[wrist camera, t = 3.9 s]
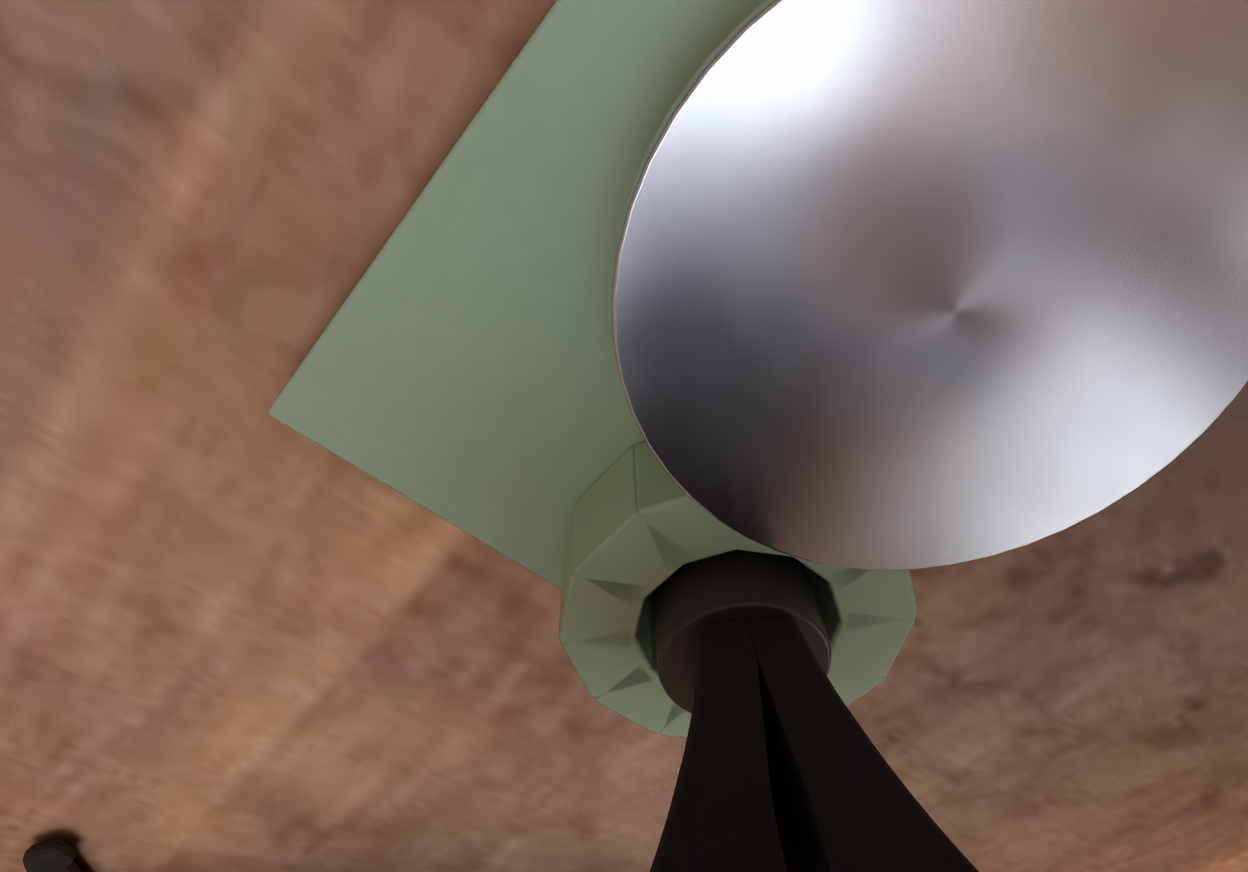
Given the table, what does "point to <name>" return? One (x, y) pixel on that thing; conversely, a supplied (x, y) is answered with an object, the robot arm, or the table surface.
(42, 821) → the table surface
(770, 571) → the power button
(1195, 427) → the scale pan
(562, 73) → the scale
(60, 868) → the knife
